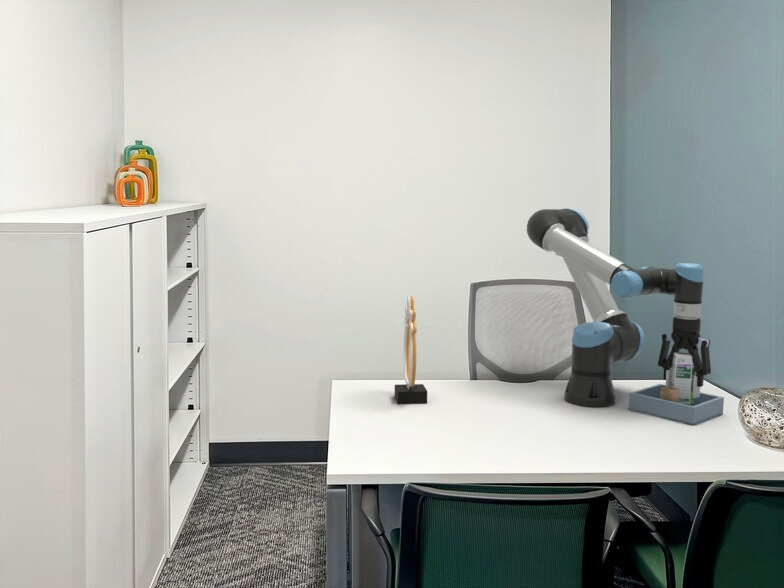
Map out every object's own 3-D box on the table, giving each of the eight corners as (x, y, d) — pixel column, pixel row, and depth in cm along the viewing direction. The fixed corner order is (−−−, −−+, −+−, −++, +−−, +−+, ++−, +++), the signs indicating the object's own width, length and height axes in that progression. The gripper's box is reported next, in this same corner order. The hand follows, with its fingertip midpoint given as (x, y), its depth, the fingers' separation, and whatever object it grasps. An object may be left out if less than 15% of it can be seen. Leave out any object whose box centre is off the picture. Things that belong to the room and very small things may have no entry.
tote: (628, 409, 226) (629, 392, 225) (659, 399, 237) (660, 383, 236) (693, 425, 211) (694, 407, 210) (722, 414, 222) (723, 397, 221)
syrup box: (672, 403, 223) (675, 354, 221) (669, 398, 229) (672, 350, 227) (693, 404, 222) (696, 355, 220) (690, 399, 228) (693, 351, 226)
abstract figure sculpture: (429, 407, 226) (430, 300, 222) (399, 407, 225) (400, 300, 221) (421, 392, 243) (422, 292, 238) (393, 393, 242) (394, 292, 238)
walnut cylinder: (655, 412, 221) (657, 388, 220) (665, 409, 224) (666, 385, 223) (671, 416, 217) (673, 392, 216) (681, 413, 221) (682, 389, 220)
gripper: (647, 313, 228) (643, 389, 231) (715, 323, 212) (710, 403, 215) (660, 311, 233) (656, 385, 236) (728, 320, 217) (722, 399, 220)
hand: (682, 394), depth 225 cm, fingers closed on syrup box, 8 cm apart
